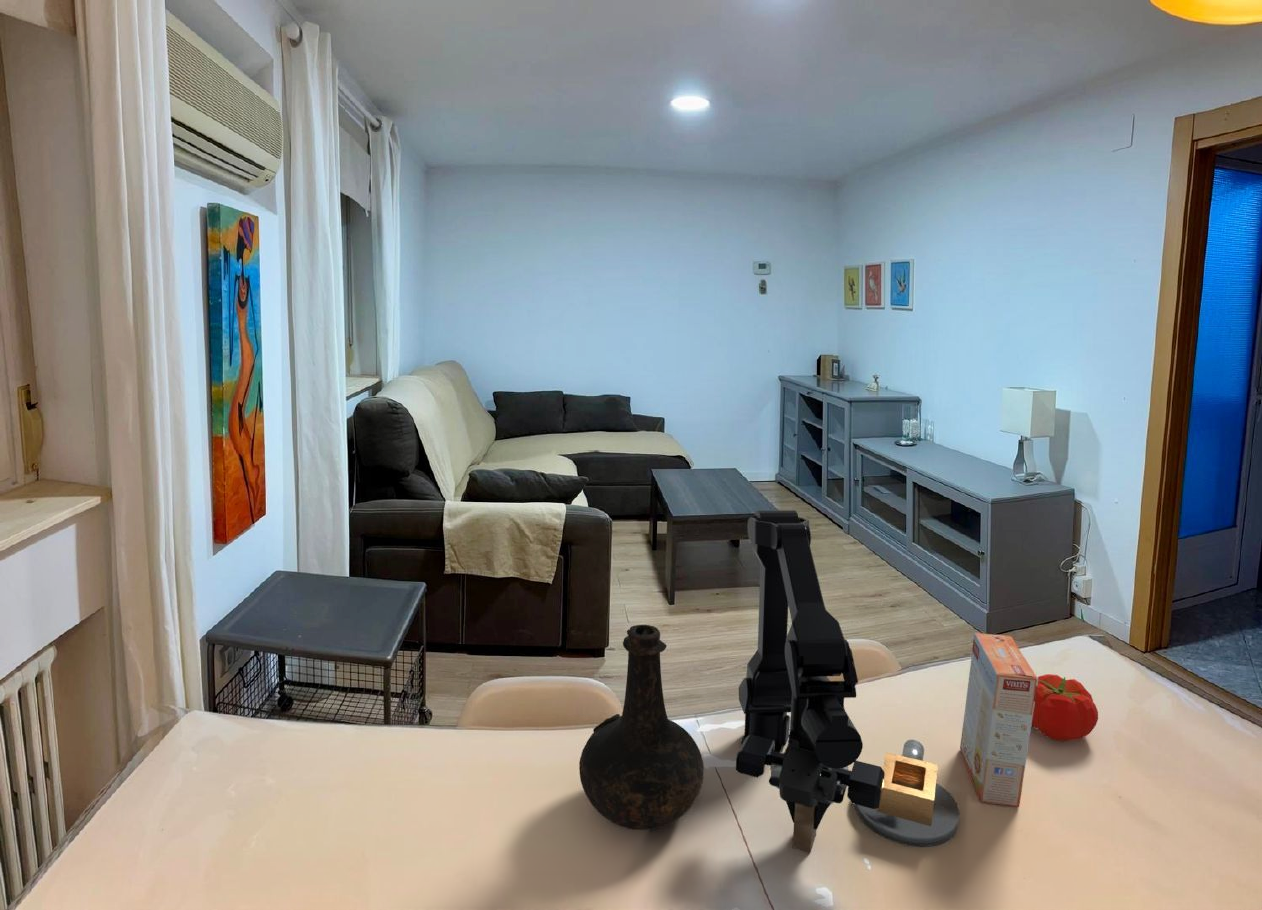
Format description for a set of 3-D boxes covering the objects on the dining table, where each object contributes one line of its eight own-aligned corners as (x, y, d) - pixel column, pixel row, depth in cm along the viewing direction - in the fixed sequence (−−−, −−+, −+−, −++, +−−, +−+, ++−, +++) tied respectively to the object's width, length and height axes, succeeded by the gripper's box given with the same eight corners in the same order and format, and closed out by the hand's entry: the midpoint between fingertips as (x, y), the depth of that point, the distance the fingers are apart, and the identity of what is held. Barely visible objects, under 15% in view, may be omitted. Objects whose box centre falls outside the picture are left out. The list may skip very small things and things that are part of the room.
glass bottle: (640, 755, 125) (642, 591, 118) (728, 808, 112) (735, 629, 106) (553, 805, 112) (551, 626, 106) (641, 872, 100) (644, 673, 94)
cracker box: (1022, 809, 113) (1040, 678, 108) (978, 803, 114) (994, 673, 109) (998, 753, 126) (1013, 634, 121) (958, 748, 127) (972, 630, 123)
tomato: (1019, 702, 141) (1025, 659, 140) (1098, 725, 134) (1105, 680, 132) (1005, 734, 131) (1011, 688, 129) (1089, 760, 124) (1097, 712, 122)
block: (792, 847, 105) (795, 795, 103) (798, 829, 108) (802, 778, 106) (810, 853, 104) (814, 800, 102) (816, 834, 107) (819, 783, 105)
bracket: (847, 828, 108) (850, 790, 107) (865, 759, 124) (868, 726, 122) (955, 858, 103) (960, 819, 101) (960, 783, 118) (964, 748, 117)
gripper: (725, 735, 98) (721, 842, 102) (878, 774, 91) (868, 887, 94) (749, 694, 108) (745, 792, 112) (889, 726, 101) (879, 830, 104)
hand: (805, 824), depth 105 cm, fingers closed on block, 2 cm apart
